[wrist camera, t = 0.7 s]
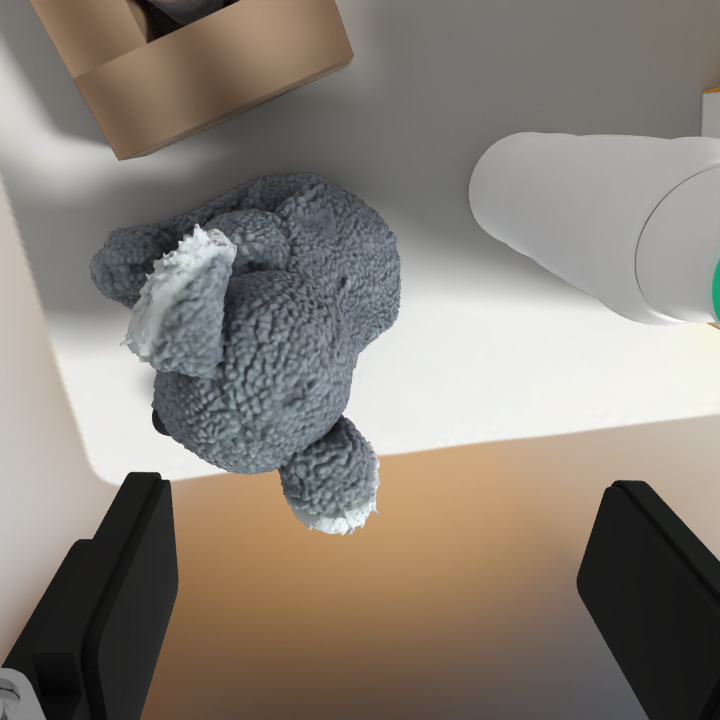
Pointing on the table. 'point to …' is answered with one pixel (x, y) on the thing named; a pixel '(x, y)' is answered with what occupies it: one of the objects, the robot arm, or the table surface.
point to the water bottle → (611, 217)
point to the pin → (188, 9)
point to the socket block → (189, 63)
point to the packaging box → (711, 123)
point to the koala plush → (263, 333)
